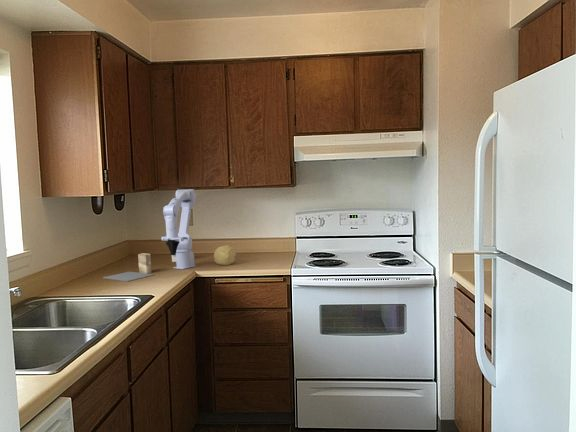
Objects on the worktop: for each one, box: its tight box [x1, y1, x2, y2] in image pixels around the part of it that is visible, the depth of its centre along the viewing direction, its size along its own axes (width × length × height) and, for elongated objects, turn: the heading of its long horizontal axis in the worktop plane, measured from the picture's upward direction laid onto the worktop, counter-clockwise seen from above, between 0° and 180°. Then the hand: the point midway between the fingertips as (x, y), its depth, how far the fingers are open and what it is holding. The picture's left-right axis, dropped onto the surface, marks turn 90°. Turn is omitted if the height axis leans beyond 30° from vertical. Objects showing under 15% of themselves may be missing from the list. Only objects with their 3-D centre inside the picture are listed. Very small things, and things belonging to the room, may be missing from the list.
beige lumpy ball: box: [213, 244, 237, 266], centre depth 275 cm, size 11×12×11 cm
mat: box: [102, 271, 155, 282], centre depth 251 cm, size 16×20×1 cm
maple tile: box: [137, 252, 152, 274], centre depth 259 cm, size 3×6×10 cm, turn 54°
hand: (173, 254), depth 256 cm, fingers closed
